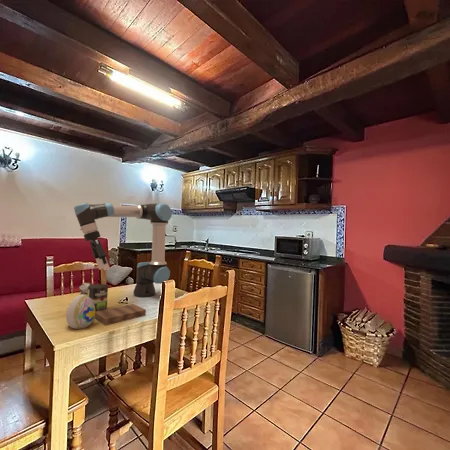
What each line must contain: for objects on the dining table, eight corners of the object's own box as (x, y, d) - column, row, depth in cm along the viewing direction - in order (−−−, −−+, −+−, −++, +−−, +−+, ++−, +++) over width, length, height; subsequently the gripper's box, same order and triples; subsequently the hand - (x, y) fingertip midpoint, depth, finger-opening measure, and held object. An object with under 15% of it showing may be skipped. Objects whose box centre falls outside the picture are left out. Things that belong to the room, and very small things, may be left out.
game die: (82, 298, 180) (79, 285, 184) (95, 293, 183) (92, 281, 187) (78, 295, 172) (75, 282, 176) (91, 290, 175) (88, 277, 179)
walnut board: (132, 308, 152) (133, 303, 152) (145, 315, 143) (145, 309, 143) (93, 317, 136) (94, 311, 136) (105, 325, 127) (105, 319, 127)
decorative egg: (80, 332, 117) (82, 299, 117) (59, 328, 121) (60, 296, 121) (100, 323, 129) (101, 293, 129) (80, 319, 132) (81, 290, 133)
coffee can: (110, 310, 147) (111, 286, 147) (92, 315, 139) (93, 289, 139) (101, 306, 154) (102, 283, 154) (83, 310, 145) (84, 285, 146)
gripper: (80, 236, 146) (93, 271, 148) (87, 232, 126) (102, 273, 128) (94, 231, 150) (106, 265, 153) (102, 227, 130) (117, 267, 132)
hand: (104, 269), depth 140 cm, fingers open, 13 cm apart
